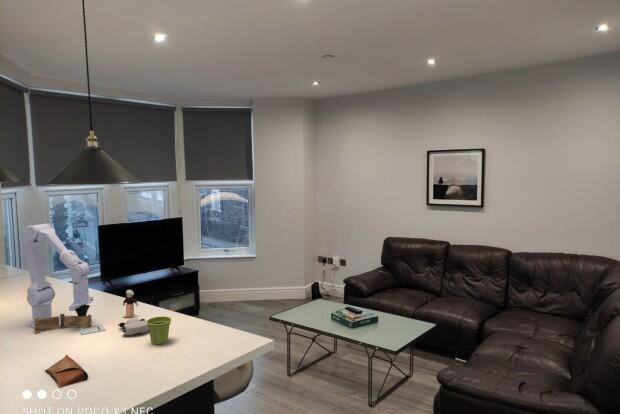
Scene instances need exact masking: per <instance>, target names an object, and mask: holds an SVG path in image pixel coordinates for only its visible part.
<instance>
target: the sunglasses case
mask: <svg viewBox="0 0 620 414" xmlns="http://www.w3.org/2000/svg"><path fill="white" fill-rule="evenodd" d="M44 372H45V373H47V374H48V375H50V377H51V378H52V379H53V380H54V382H55V383H56V384H57V386H58V388H59V389H62V388H65V387H68V386H71V385H75V384H78V383H80V382H81V383H82V382H85V381H87V380H88V379H89V374H88V373H87V371H86V370H85V369H84V368H83V367H82V366H80V364H78V362H76V361H75V360H74V359H72V358H71V357H70V356H69V355H68V354H65V356H64V357H62V359H60V360H58V361H57V362H55V363H54V364H52V365H51V366H49V367H48V368H46V369H45V370H44Z"/></svg>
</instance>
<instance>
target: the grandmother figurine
mask: <svg viewBox="0 0 620 414" xmlns="http://www.w3.org/2000/svg"><path fill="white" fill-rule="evenodd" d="M125 294H126V297H125V299H124V300H123V301H122V306H123V307H124V306H125V315H124V317H123V318H125V319H127V318H129V319H134V318H135V306H136V307H137V306H139V303H138V300H136V298H134V297H133V295H135V293H134V291H133V290H132V289H127V290H126V292H125ZM134 304H135V306H134Z"/></svg>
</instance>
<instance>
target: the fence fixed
mask: <svg viewBox="0 0 620 414" xmlns="http://www.w3.org/2000/svg"><path fill="white" fill-rule="evenodd" d="M66 328H68V326H61V324H60V315H59V316H52V317H51V318H45V319H39V318H36V319H35V328H33V330H34V335H37V334H38V333H39V334H41V333H42V332H47V331H46V330H48V331H52V330H53V329H54V330H58V329H59V330H62V329H66ZM41 331H42V332H41Z"/></svg>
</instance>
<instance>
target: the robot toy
mask: <svg viewBox="0 0 620 414" xmlns="http://www.w3.org/2000/svg"><path fill="white" fill-rule="evenodd" d="M146 321H147V320H146V318H141V319H139V318H135V317H134V318H129V319H128V320H126V321H125V322H119V323H117V327H120V328H121V329H120V332H123V333H124V334H126V335H127V336H133V335H135V334H139V333H141V334H145V333H147V332H148V331H149V327H148V324H147V323H146Z"/></svg>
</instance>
